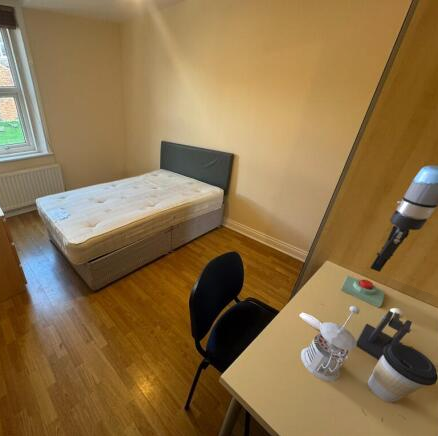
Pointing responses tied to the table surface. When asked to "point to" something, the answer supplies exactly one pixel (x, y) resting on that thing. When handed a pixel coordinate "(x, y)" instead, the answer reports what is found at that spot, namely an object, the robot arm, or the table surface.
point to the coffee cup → (401, 373)
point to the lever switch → (396, 319)
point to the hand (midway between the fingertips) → (375, 269)
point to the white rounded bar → (311, 320)
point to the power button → (366, 284)
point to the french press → (329, 350)
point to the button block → (363, 291)
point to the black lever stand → (380, 336)
